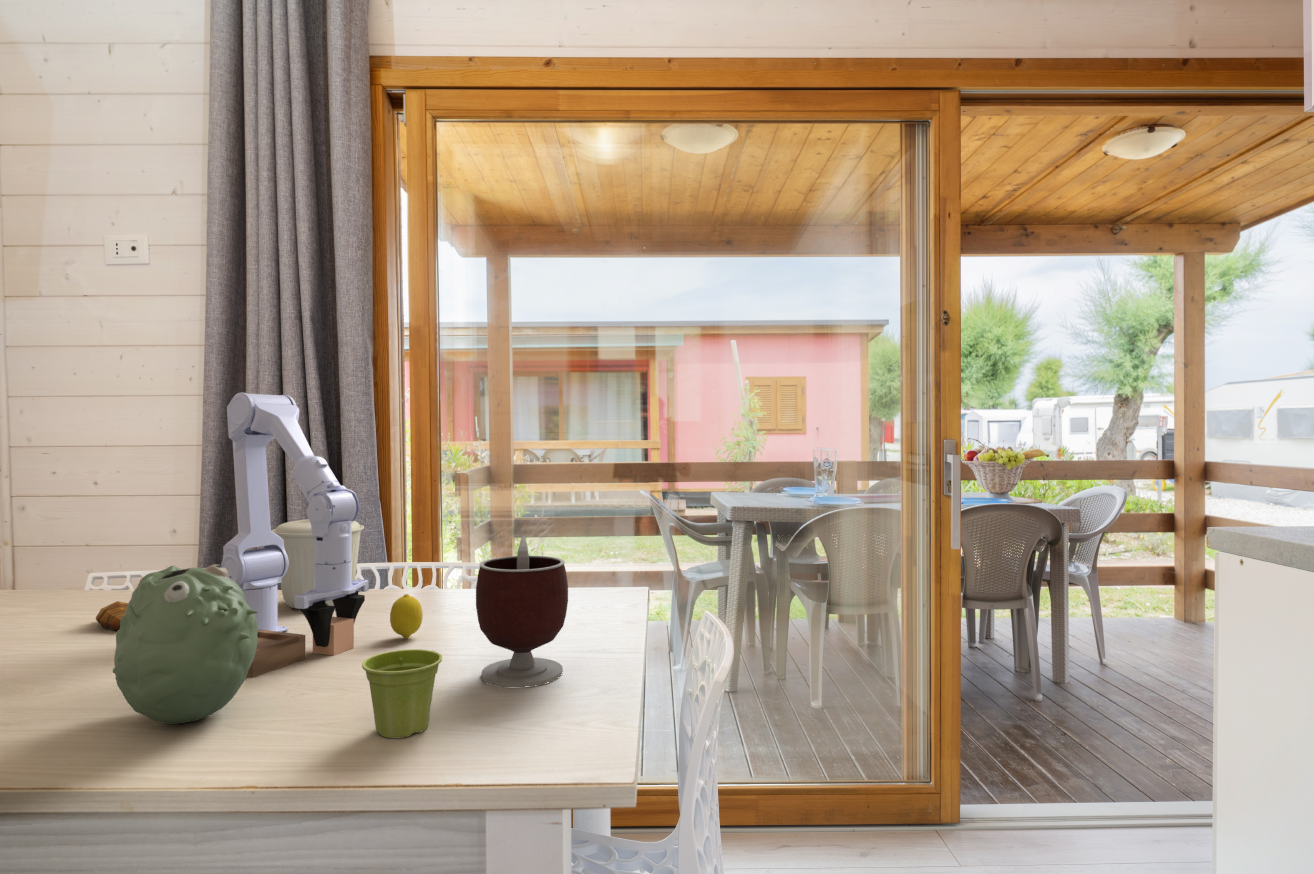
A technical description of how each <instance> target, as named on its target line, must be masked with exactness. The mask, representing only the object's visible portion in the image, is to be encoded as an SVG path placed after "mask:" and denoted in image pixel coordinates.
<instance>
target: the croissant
mask: <svg viewBox="0 0 1314 874" xmlns="http://www.w3.org/2000/svg"><path fill="white" fill-rule="evenodd" d="M128 603H129V602H123V601H114V602H112V603H111V604H109V605H107V606H103V607H102V608H100V610H99V612H98V613H97V615H96V616H95V620H96V621H97V623H98V624H99V626H100V627H101V628H102V629H107V630H108V629H109V630H112V631H116V632H117V631H118V630H120V621H121V618H122V617H123V616H124V615H125V611H126V608H127V605H128Z"/></svg>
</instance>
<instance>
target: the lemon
mask: <svg viewBox="0 0 1314 874" xmlns="http://www.w3.org/2000/svg"><path fill="white" fill-rule="evenodd" d="M423 615H424V614H423V608H422V605H421V603H420V601H419V600H418V599H417V598H415V596H411V595H410V594H408V593H407V594H406V593H405V594H404V595H403V596H400V597H399V598H397V599H396V600H395V601H394V602H393V603H392V606H391V609H390V614H389V623H390V626H391V628H392V630H393V632H394V633H396V634H397V635H398V636H402V638H404V640H405V639H409V638H410V637H411V636H412V635H414V634H415V633H416V632H417V631H418V630H419V629H420V627H421V625H422V623H423Z"/></svg>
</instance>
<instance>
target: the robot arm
mask: <svg viewBox="0 0 1314 874" xmlns="http://www.w3.org/2000/svg"><path fill="white" fill-rule="evenodd" d="M226 413H227V414H226V416H227V431H228V432H227V434H228V439H230V440H231V441H232V452H233V453H232V455H233V467H234V468H233V469H234V470H233V471H234V484H235V486H234V487H235V499H236V501H235V502H236V517H237V519H236V520H237V531H238V533H237V534H236V535H234V536H233V538H232V539H230V540H229V541H227V543H225V545H223V547H222V548H223V549H222V550H223V552H222V553H223V555H222V560H221V564H220V565H222V566H223V567H225V568H226V569H227V571H228V577H229V578H230V579H231V580H233V581H235V582H236V583H237V584H238V586H239V587H240V588H241V589H242V591H243V592H244V595H245V600H246V603H247V604H248V605H249V607H250V608H251V610H255V611H257V612H258V613H255V616H256V619H257V623H258V629H261V630H270V631H278V632H285V631H288V630H289V626H282V625H279V624H278V623H279V622H278V618H279V616H278V615H279V614H278V611H279V610H278V609H279V608H278V607H279V604H278V599H279V598H278V594H279V593H278V591H279V590H278V587H279V585H278V584H281V578H282V577H284V576H285V574H286V572H287V570H288V565H289V560H288V556H287V554H286V551H285V548H284V540H283V539H282V538H281V537H279V536H278V535H276V534H275V533H273V532H272V527H271V515H270V513H271V512H270V498H269V497H270V496H269V495H270V494H269V484H268V483H269V482H268V481H269V480H268V467H267V453H266V451H267V450H266V448H267V446H268V445H269V443H270V442H271V441H273V440H276V442H277V443H278V444H279V446H280V447H281V448H282V450H283V451H284V452H285V453H286V455H287V457H288V458H289V460H291V462H292V463H293V464H294V466H293V468H292V471H291V475H292V478H293V479H294V481H295V482H296V484H297V485H298V488H299V489H300V490H301V493H302V494H303V496H304V497H305V499H306V501H307V502H308V506H307V508H306V516H307V519H309V521H310V523H311V533H312V534H313V536H315V588H314V589H312V590H310V591H307V592H305V593H303V594H301V595H297V596H295V608H294V609H296V608H300V609H299V610H300V612H301V613H302V614H303V615H304V617H305V619H306V621H307V622H308V625H309V627H310V630H311V633H312V638H313V637H314V641H315V644H316V646H321V647H326V646H328V644H329V638H330V625H331V619H332V617H334V616H333V615H334V612H335V617H342V618H351V619H354V624H355V622H356V619H357V617H358V613H359V611H360V609H361V608H362V606H363V604H364V602H365V599H366V598H365V597H366V596H365V595H364V594H359V593H362V592H363V593H365V592H368V591H369V579H362V578H361V579H355V581H352V522H353V521H356V520H357V518H358V517H359V512H360V501H359V498H358V496H357V493H356V492H355V491H353V490H352V489H350V488H349V489H348V488H347V487H346V486H345V485H341V484H340V482H339V480H338V479H337V478H336V476H335V474H334V472H333V471H332V469H331V468H330V466H329V464H328V462H327V460H326V459H325V458H324V457H321V456H318V455H315V454H314V452H313V451H312V449H311V446H310V445H309V442H308V440H307V438H306V436H305V434H304V432H303V430H302V428H301V426H300V424H299V422H298V421H299V419H300V418H299V417H300V408H299V406H297V403H296V401H295V399H294V398H293V397H292V396H290V395H288V394H281V395H279V394H265V393H264V394H262V393H246V392H242V391H241V392H238V393H236V394H234V395H233V397H232V398H231V400H230V402H229V403H228V405H227V406H226ZM259 547H263V548H259ZM251 548H254V549H251ZM329 600H332V601H333V604H334V606H327V604H326V601H329Z"/></svg>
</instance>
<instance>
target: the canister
mask: <svg viewBox="0 0 1314 874" xmlns="http://www.w3.org/2000/svg"><path fill="white" fill-rule="evenodd" d="M364 529H365V526H364V525H362V524H359V522H358V521H356V520H355V521H353V522H352V581H355V580H356V576H357V575H356V574H357V567H358V559H359V550H360V541H361V533H362V531H363V530H364ZM271 531H272V532H273V533H275V534H276V535H278V536H279V537H281V538H282V539H283V540H284V548H285V551H286V554H287V556H288V560H289V565H288V570H287V572H286V574H285V576H284V577H282V578H281V583H280V587H281V593H282V594H281V595H282V597H283V601H284V602H285V604H286V605H287V606H288V607H290V608H291V609H292V608H293V609H298V610H300V608H295V596H297V595H301V594H303V593H305V592H307V591H310V590H312V589H314V588H315V536H313V534H312V533H311V523H310V521H309V519H308V518H307V519H299V520H293V521H287V522H283V523H281V524H279V525H278V526H276V528H274V529H271ZM326 604H327V606H334V604H333V601H332V600H329V601H326Z"/></svg>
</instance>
